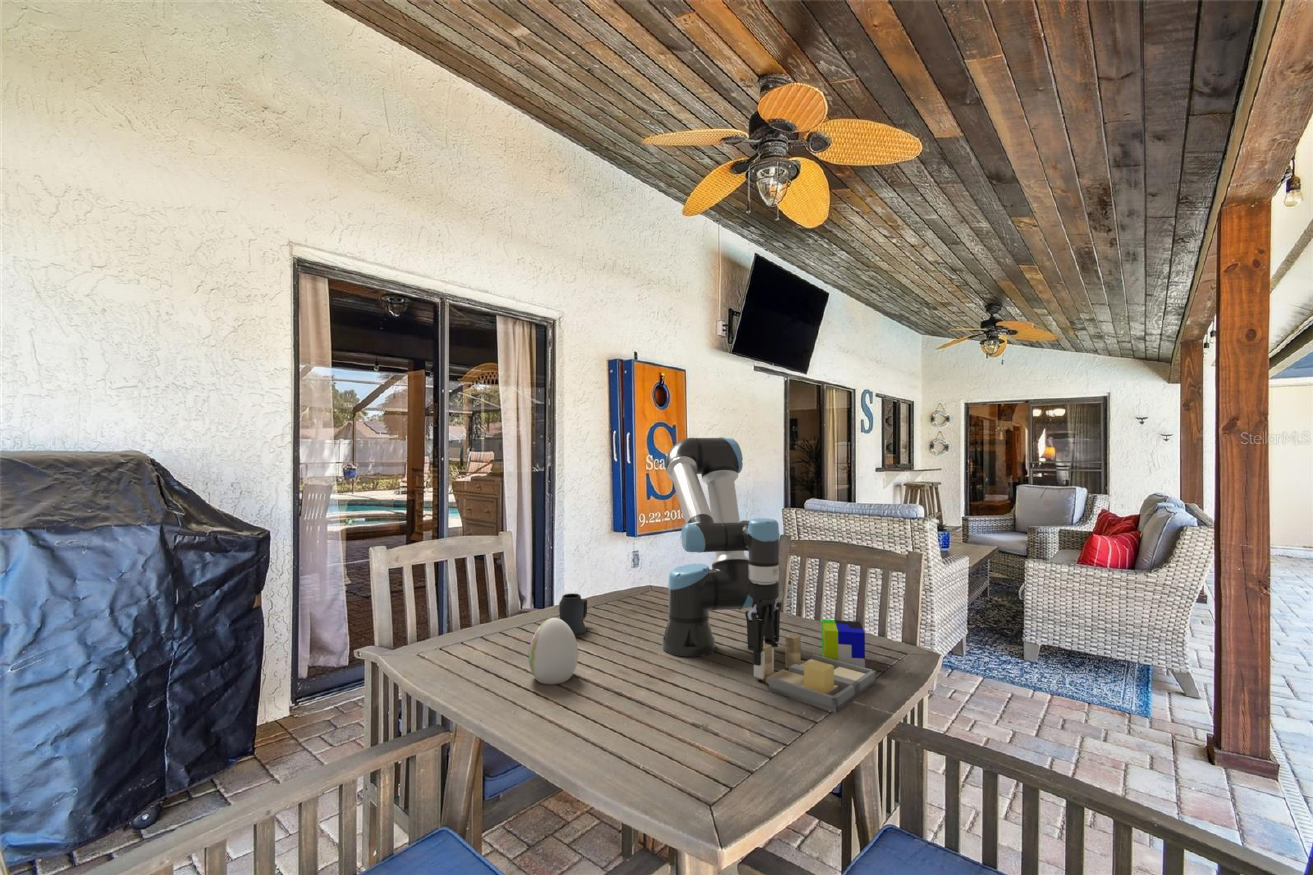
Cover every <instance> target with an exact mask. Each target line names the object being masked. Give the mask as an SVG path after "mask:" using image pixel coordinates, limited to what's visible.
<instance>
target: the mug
mask: <svg viewBox="0 0 1313 875" xmlns="http://www.w3.org/2000/svg"><path fill="white" fill-rule="evenodd" d="M558 606H559V609H558V611H559V619H561V620H563V621H564V622H565V623H566V624H567V625H568V626H569V627H570V628H571V630H572V632H573V634H574V636H575V637H577V636H581V635H584V634H585V633H587V629H586V625H585V623H584V620H585V618H586V617H587V615H588V599H585V598H582V596H581V595H580V594H579V593H576V592H575V593H565V594H562V597H561V600H560V601H559V603H558Z"/></svg>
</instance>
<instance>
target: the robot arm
mask: <svg viewBox="0 0 1313 875" xmlns="http://www.w3.org/2000/svg"><path fill="white" fill-rule="evenodd" d="M743 463H744V462H743V453H742V450H741V447H740V445H739V443H738V442H737V441H736V440H735V439H734V438H730V437H729V438H727V437H722V436H721V437H687V438H684V439H681V440H679V441H678V442H676V443H675V444H674V445H673V446H672V447H671V449H670V450H669V451H668V453H667V456H666V459H665V471H666V474H667V477H668V478H669V479H670V480H671V481H672V483H673V486H674V489H675V493H676V496H677V499H678V503H679V505H680V509H681V512H682V515H683V519H684V522H685V523H684V524H683V525H682V527H681V532H680V533H681V536H680V538H681V539H680V540H681V544H682V548H683V550H684V551H685V552H688V553H699V554H700V553H713V552H714V553H715V559H714V561H713V562H711V569H710V567H709V565H708V564H705V563H690V564H683V565H679V566H677V567H675V568H673V569H672V570H670V572H669V574H668V584H667V590H668V619H667V620H668V621H667V623H666V628H665V631H664V635H663V638H662V650H664V652H666V653H669V654H671V655H674V656H679V657H700V656H706V655H709V654H710V653H713V652H714V651H715V649H716V640H715V637H714V636H713V631H712V628H711V624H710V618H709V617H710V612H711V611H724V610H725V611H727V610H730V611H731V610H739V611H742V610H744V609H750V610H745V612H744V616H745V619H746V632H747V633H746V634H747V635H746V636H747V638H746V639H747V640H746V641H747V650H748V651H751V652H753V653H752V656H753V661H752V663H753V677H755V678H756V677H758V678H761V679H764V678H765V652H763V643H766V644H770V645H772V671H773V672H775V671H774V670H775V669H774V668H775V667H774V665H775V662H774V661H775V657H774V656H775V652H774V651H775V648H778V647H779V643H778V642H779V641H780V624H781V623H780V622H781V620H780V619H781V618H780V617H781V609H782V603H781V602H778V601H776V599H778V598H779V597H780V583H779V582H778V581H779V580H780V576H779V575H780V569H779V568H780V567H779V566H780V562H779V561H780V530H779V529H780V527H779V526H780V525H779V522H778V521H777V520H776V519H773V518H763V517H762V518H761V517H759V518H752V519H750V520H741V519H740V513H739V507H738V506H739V505H738V498H737V492H736V484H735V481H736V480H737V479H738V478H739V474H741V471H742V470H743V465H744V464H743ZM698 475H701V480H702V482H703V483H704V484H706V485H707V492H708V500H709V505H708V502H707V499H706V496H705V494H704V490H703V488H702V485H701V481H700V479H699V476H698ZM745 551H747V552H748V557H747V556H746V555H745Z"/></svg>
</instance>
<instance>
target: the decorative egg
mask: <svg viewBox="0 0 1313 875" xmlns="http://www.w3.org/2000/svg"><path fill="white" fill-rule="evenodd" d="M578 662H579V647H578V641H577V639H576V636H574V634H573V632H572V630H571V628H570V627H569V626H568V625H567V624H566V623H565V622H564V621H563V620H561V619H560V617H559V618H558V617H549V618H548V619H546V620H545V621H543V622H542V623H541V624H540V625H539V626H538V628H537V629H536V631H535V632H534V634H533V637H532V639H531V641H530V644H529V651H528V664H529V668H530V671H531V673H532V675H533V677H534V678H535V679H536V680H537V682H539V683H541V684H543V685H544V684H545V685H559V684H562V683H565V682H567V681H569V679H571V677H572V676H573V675H574V672H575V671H576V668H577V666H578Z"/></svg>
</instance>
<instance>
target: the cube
mask: <svg viewBox="0 0 1313 875" xmlns="http://www.w3.org/2000/svg"><path fill="white" fill-rule="evenodd" d="M804 687H806V688H809V689H812V690H815V691H819V692H822V693H826V692H828V691H829V690H831V689H832V688H834V666H833V665H830V664H826V663H822V662H818V661H815V660H814V661H812V662H811V663H809V664H807V665H805V666H804Z"/></svg>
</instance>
